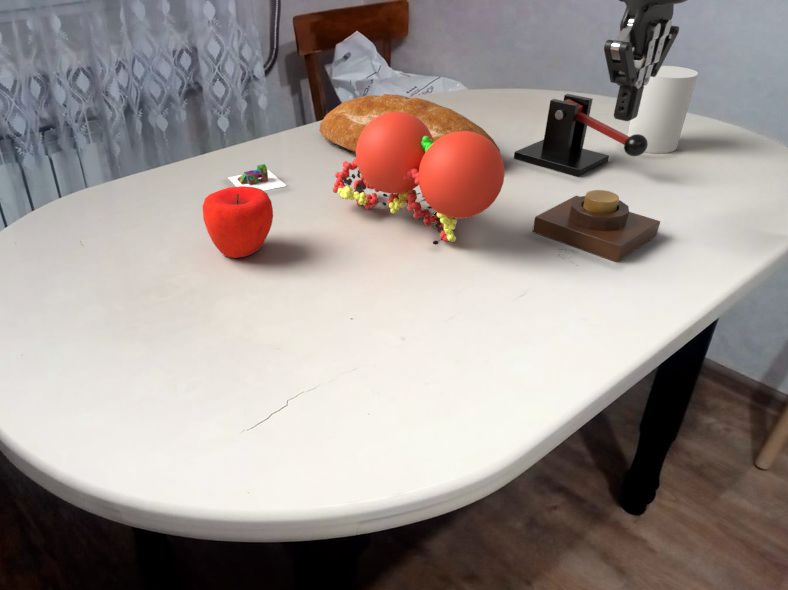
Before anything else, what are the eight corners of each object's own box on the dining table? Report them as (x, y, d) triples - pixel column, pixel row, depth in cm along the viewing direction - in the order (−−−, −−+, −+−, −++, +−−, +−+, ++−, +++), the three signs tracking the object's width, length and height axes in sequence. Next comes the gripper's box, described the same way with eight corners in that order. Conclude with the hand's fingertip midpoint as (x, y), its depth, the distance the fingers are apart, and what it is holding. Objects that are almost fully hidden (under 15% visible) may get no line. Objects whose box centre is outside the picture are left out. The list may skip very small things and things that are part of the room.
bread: (352, 120, 129) (352, 73, 124) (520, 155, 111) (528, 101, 106) (294, 145, 119) (292, 94, 113) (470, 188, 100) (476, 129, 95)
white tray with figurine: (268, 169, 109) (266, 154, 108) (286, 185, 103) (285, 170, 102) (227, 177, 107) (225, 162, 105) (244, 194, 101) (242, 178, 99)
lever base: (608, 162, 107) (622, 100, 102) (578, 177, 103) (591, 113, 97) (543, 145, 115) (553, 87, 109) (513, 158, 110) (522, 98, 104)
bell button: (621, 208, 84) (625, 195, 83) (605, 218, 82) (609, 204, 81) (593, 199, 87) (596, 187, 86) (576, 208, 85) (579, 195, 84)
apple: (266, 270, 81) (261, 211, 76) (198, 265, 82) (189, 207, 78) (283, 238, 88) (279, 182, 84) (220, 234, 90) (213, 179, 85)
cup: (671, 138, 116) (692, 66, 109) (680, 154, 109) (703, 78, 102) (622, 136, 117) (639, 65, 110) (628, 152, 111) (647, 77, 104)
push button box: (656, 236, 85) (664, 207, 83) (617, 262, 80) (625, 232, 78) (573, 210, 93) (578, 182, 91) (532, 232, 88) (537, 203, 85)
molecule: (516, 228, 88) (526, 124, 77) (471, 276, 84) (475, 173, 72) (370, 174, 101) (360, 78, 89) (324, 213, 96) (307, 117, 85)
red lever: (645, 157, 100) (655, 137, 97) (634, 162, 98) (645, 142, 96) (563, 114, 107) (571, 95, 104) (552, 119, 105) (560, 99, 103)
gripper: (669, -43, 62) (627, 139, 73) (727, -56, 69) (681, 112, 79) (596, -46, 67) (566, 125, 77) (657, -58, 74) (622, 101, 84)
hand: (624, 118), depth 78 cm, fingers closed
